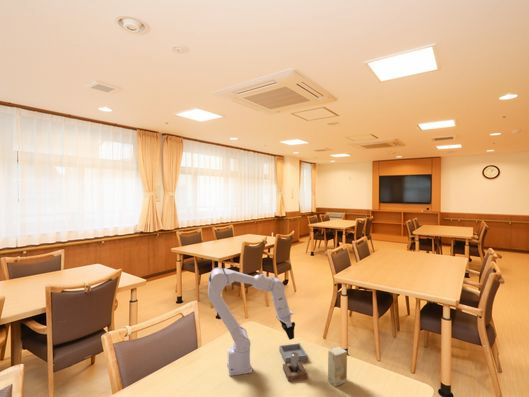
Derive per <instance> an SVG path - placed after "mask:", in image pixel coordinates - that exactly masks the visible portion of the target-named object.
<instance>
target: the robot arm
mask: <svg viewBox="0 0 529 397" xmlns="http://www.w3.org/2000/svg"><path fill="white" fill-rule="evenodd" d="M234 282H237V283H242V284H248V285H252V288H254V289H256V290H261V291H265V292H270V293H271V296H272V301H273V305H274V308H275V312H276V319H277V320H278V321H279V323H280V324H281V328H282V330H283V331H284V332H285V334H286V335H287V338H288V340H294V339H295V327H296V323H295V321H293V322H292V321H291V320H292V315H294V312H293V311H292V310H290V307H289V303H288V300H287V296H286V293H285V288H286V287H285V285H284V283H283V282H282V281H281V280H280V279H279V278H278V277H275V276H271V277H270V276H265V275H264V274H263V273H259V274H256V275H254V276H253V275H249V274H247V273H246V274H245V273H242V272H239V271H236V270H233V269H228V268H222V267H214V268H213V269H212V270H211V272H210V274H209V276H208V286H207V298H208V300H209V301H210V304H211V305H212V307H213V308H214V309H215V311H216V313H217V315H218V316H219V318H220V319H221V321H222V323H223V324H224V325H225V327H226V329H227V330H228V332H229V334H230V335H231V338H232V340H233V342H234V343H233V345H232V347H230V348H227V362H226V363H227V365H226V366H227V369H228V370H227V371H228V375H229V376H238V375H244V374H251V373H253V370H252V366H251V365H252V364H251V350H250V349H251V340H250V338H249V335H248V332H247V330H246V328H244V327H243V326H241V324H240V323H239V322H238V320H237V319H236V317H235V316H234V314H233V313H232V311H231V309H230V308H229V306H228V305H227V303H226V301H225V300H224V298H223V297H222V292H223V290H224V289H225V288H226V286H227V285H228V286H229V285H231V284H232V283H234Z"/></svg>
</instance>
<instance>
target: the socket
mask: <svg viewBox="0 0 529 397" xmlns="http://www.w3.org/2000/svg"><path fill="white" fill-rule="evenodd" d="M282 370H283V373H284V375H285V377H286V380H287V382H291V381H299V380H306V379H308V372H307V370H306V368H305V367H304V364H303V362H298V372H294V373H291V363H287V364H285V363H282Z"/></svg>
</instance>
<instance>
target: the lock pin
mask: <svg viewBox="0 0 529 397" xmlns="http://www.w3.org/2000/svg"><path fill="white" fill-rule="evenodd" d="M290 372H291V373H294V372H299V370H298V353H296V352H293V353H291V370H290Z"/></svg>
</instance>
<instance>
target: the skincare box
mask: <svg viewBox="0 0 529 397" xmlns="http://www.w3.org/2000/svg"><path fill="white" fill-rule="evenodd" d="M327 353H328V358H327V360H328V361H327V381H328V382H329V383H331V385H332V386H334V387H337V386H340V385H342V384H344V383H347V381H348V380H347V377H348V376H347V375H348V374H347V372H348V351H347V350H346V349H345V348H343V347H341V346H337V347H333V348H331V349H328V352H327Z"/></svg>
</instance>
